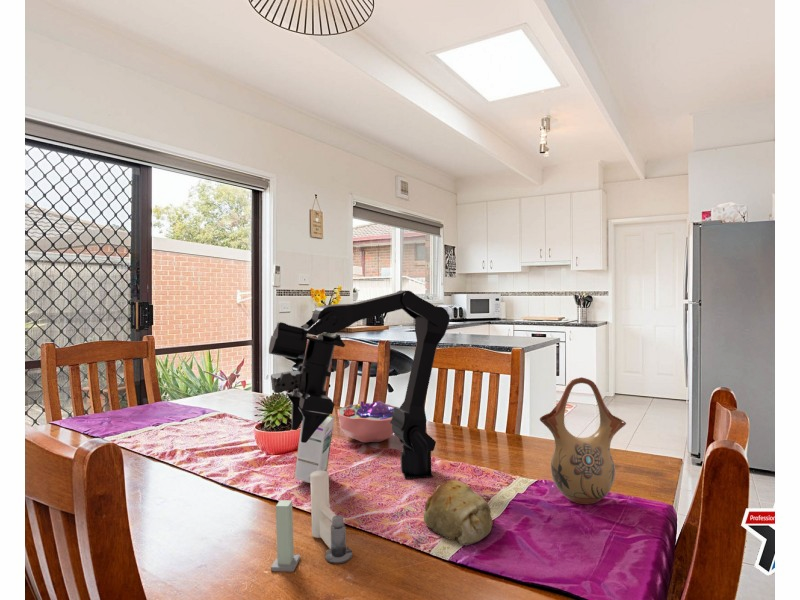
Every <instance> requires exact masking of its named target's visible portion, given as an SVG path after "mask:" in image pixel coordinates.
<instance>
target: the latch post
mask: <svg viewBox="0 0 800 600" xmlns="http://www.w3.org/2000/svg"><path fill="white" fill-rule="evenodd" d="M293 517H294V515H293V500H292V499H291V500H289V499H287V500H285V499H280V500H279V501H278V502H277V504H276V505H275V521H276V522H275V524H276V525H275V526H276V530H275V531H276V558H275V559H274V561H273V563H272V564H271V566H270V571H271V572H289V573H291V572H294V571H295V569H296V568H297V565H298V563H299V561H300V560H301V554H295V553H294V523H293V522H294V521H293Z"/></svg>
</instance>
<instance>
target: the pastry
mask: <svg viewBox="0 0 800 600" xmlns="http://www.w3.org/2000/svg"><path fill="white" fill-rule="evenodd" d="M423 521H424V524H425V525H426V527H428V528H429V529H430V530H431V531H433V532H435V534H438V535H439V534H440V535H439V536H442V537H444V538H446V537H447V539H449V538H450V540H452V539H453V540H452V541H456V542H457V543H458V544H459V545H461V544H462V545H461V546H463V545H465V546H469V545H472V544H477V543H479V542H480V541H481V540H483V539H484V538H486V537H487V536H488V535H489V534H491V532H492V528H493V516H492V510H491V506H490V505H489V503H488V502H487V501H486V499H485V498H484V497H482V496H481V495H479V494H478V493H476V492H475V491H474V490H473V489H472V488H471V487H470V485H469V484H467V483H464V482H462V481H459V480H457V479H454V478H452V479H450V480H448V481H447V480H446V481H444V482H442V483H439V484H438V485H437V487H436V489H435V490H434V491H433V492H432V494H431V495H429V496H428V497H427V500H426V501H425V504H424V512H423Z"/></svg>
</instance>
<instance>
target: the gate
mask: <svg viewBox="0 0 800 600" xmlns="http://www.w3.org/2000/svg"><path fill="white" fill-rule="evenodd" d="M310 482H311V483H310V507H311V509H310V511H311V514H310V515H311V535H312V537H314V538H317V539H322V541H323V542H324V544H325V545H326V546H327V547H328V549H331V525H333V527H334V528H340V527H342V526H343V525H344V524H345V523H344V516H343V515H341V514H339V515H336V514H335V512H334V511H333V510H332V509H330V479H329V471H328V470H327V471H315V472H312V473H311V474H310Z"/></svg>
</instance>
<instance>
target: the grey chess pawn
mask: <svg viewBox="0 0 800 600" xmlns="http://www.w3.org/2000/svg"><path fill="white" fill-rule="evenodd" d="M346 532H347V531H346V524H345V523H344V525H343V526H342V527H340V528H334V527H333V525H331V549H330V548H328V549H327V550H326V552H325V553H324V554H325V556H324V559H325V561H326V562H327V563H329V564H332V565H341V564H344V563H345V564H346V563H347V562H349V561H350V560H352V557H353V550H352V548H350V547H349V546H347V536H346V535H347V533H346Z"/></svg>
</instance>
